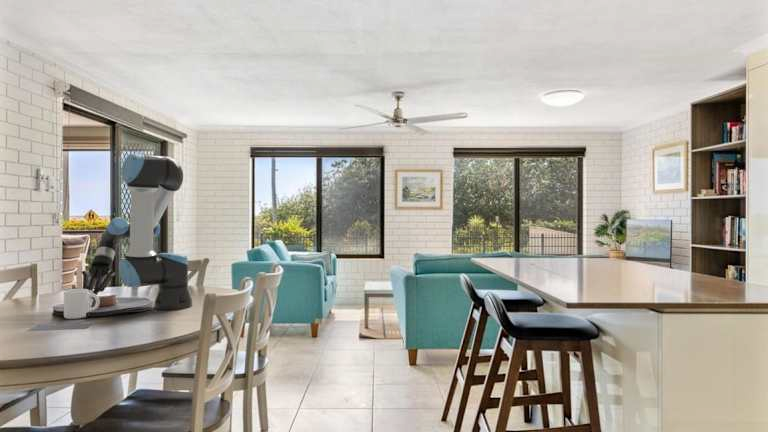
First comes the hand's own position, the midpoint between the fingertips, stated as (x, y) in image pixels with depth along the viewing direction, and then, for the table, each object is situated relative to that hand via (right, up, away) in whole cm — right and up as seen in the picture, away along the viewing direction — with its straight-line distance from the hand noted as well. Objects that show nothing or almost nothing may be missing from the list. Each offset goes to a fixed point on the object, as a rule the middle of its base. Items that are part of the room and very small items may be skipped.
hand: (87, 305), depth 196 cm
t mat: (+5, -4, -21) cm, 22 cm away
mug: (+2, -3, -7) cm, 8 cm away
